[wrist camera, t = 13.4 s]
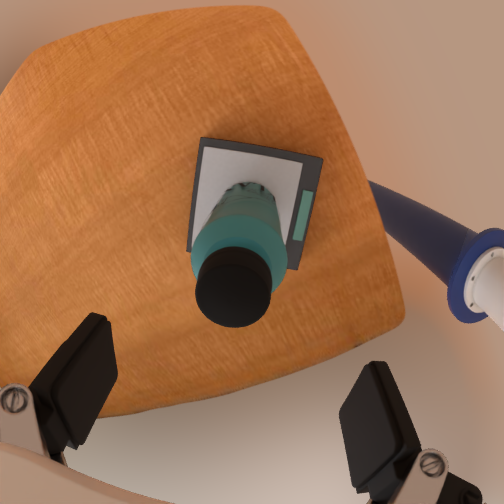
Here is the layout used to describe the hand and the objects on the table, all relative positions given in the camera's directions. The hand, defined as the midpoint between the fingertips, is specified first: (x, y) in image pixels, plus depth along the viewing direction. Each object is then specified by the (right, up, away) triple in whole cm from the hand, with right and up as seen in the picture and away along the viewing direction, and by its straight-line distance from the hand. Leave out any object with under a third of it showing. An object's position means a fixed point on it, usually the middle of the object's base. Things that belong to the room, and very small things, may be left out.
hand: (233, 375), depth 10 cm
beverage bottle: (0, +9, +24) cm, 25 cm away
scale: (+1, +10, +26) cm, 28 cm away
